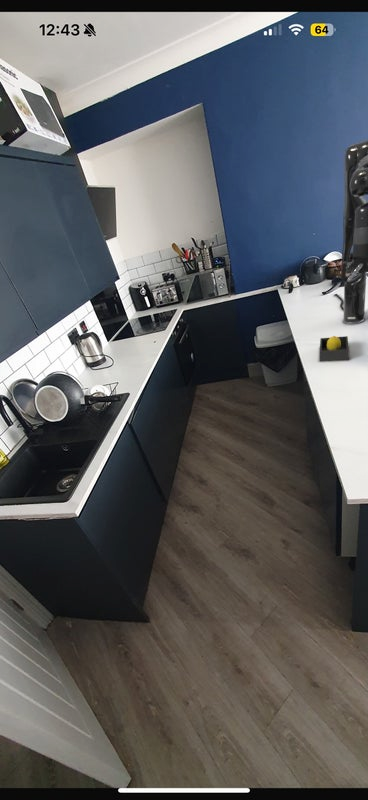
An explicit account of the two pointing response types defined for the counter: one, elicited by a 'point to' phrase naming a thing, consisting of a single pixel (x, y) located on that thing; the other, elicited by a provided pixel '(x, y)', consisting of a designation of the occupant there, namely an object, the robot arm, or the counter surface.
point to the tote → (334, 354)
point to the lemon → (333, 343)
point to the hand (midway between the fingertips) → (363, 289)
